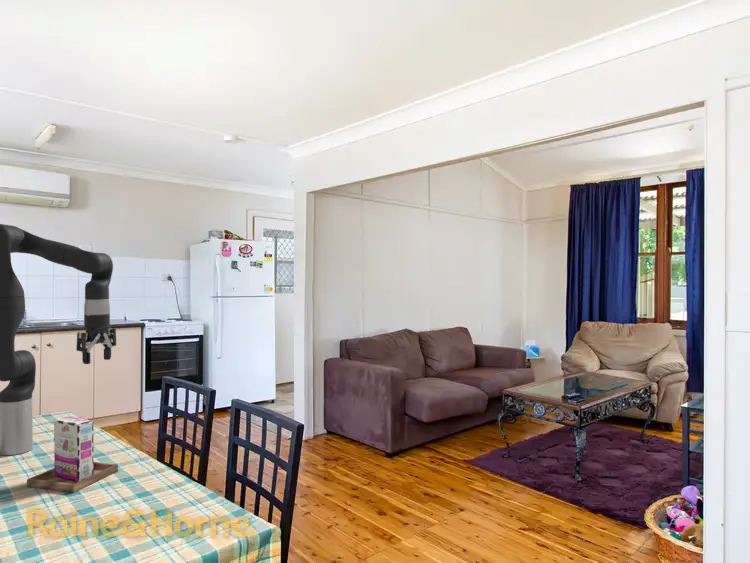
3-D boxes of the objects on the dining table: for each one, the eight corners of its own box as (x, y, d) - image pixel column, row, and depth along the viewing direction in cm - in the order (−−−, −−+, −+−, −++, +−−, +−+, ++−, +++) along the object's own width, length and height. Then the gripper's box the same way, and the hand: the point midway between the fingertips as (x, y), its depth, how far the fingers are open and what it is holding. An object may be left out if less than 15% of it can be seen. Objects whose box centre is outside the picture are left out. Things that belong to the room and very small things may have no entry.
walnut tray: (26, 486, 144) (26, 479, 144) (74, 466, 159) (74, 459, 159) (73, 492, 139) (73, 485, 139) (117, 471, 155) (117, 464, 155)
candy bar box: (95, 476, 149) (94, 420, 149) (78, 483, 145) (77, 424, 144) (70, 470, 154) (69, 415, 154) (53, 476, 150) (52, 419, 149)
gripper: (104, 311, 180) (104, 357, 180) (69, 314, 166) (70, 364, 166) (122, 311, 178) (122, 358, 178) (88, 314, 164) (88, 366, 164)
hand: (97, 361), depth 172 cm, fingers open, 8 cm apart
